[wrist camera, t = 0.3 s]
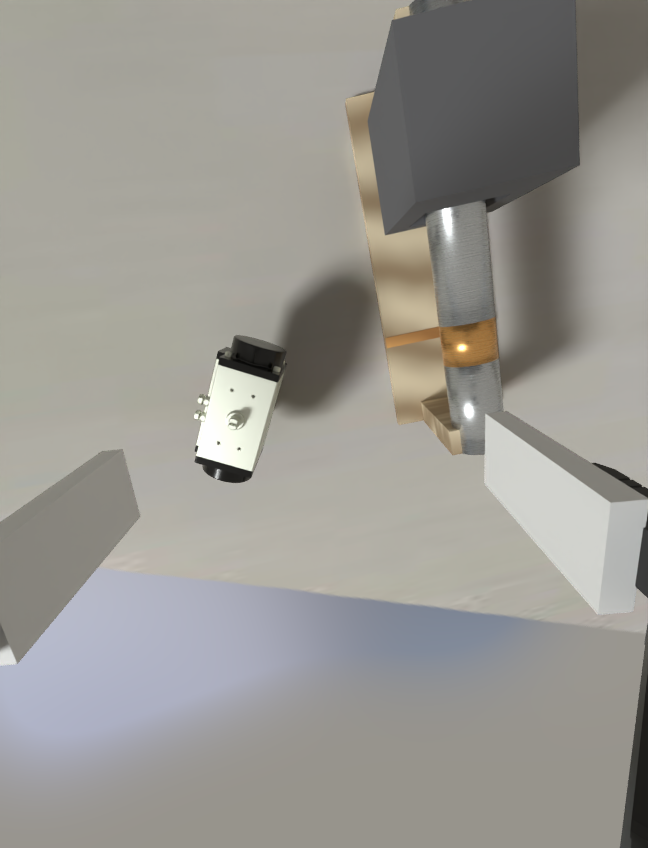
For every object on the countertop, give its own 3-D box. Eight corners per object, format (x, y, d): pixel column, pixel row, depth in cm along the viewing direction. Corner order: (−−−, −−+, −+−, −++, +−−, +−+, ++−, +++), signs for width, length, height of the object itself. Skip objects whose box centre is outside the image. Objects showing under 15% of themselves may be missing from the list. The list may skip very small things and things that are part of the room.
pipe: (395, 38, 27) (407, -5, 23) (455, 22, 27) (477, -23, 23) (447, 441, 35) (462, 458, 32) (494, 432, 35) (515, 448, 31)
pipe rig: (345, 104, 35) (354, 20, 25) (462, 75, 35) (522, -24, 24) (397, 422, 43) (421, 461, 33) (492, 403, 43) (547, 436, 32)
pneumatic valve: (295, 342, 41) (283, 359, 29) (264, 448, 44) (244, 499, 33) (241, 325, 40) (208, 335, 29) (214, 433, 44) (175, 481, 32)
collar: (367, 121, 31) (392, 20, 20) (482, 93, 30) (574, -27, 19) (384, 235, 33) (415, 202, 22) (492, 211, 32) (579, 164, 21)
